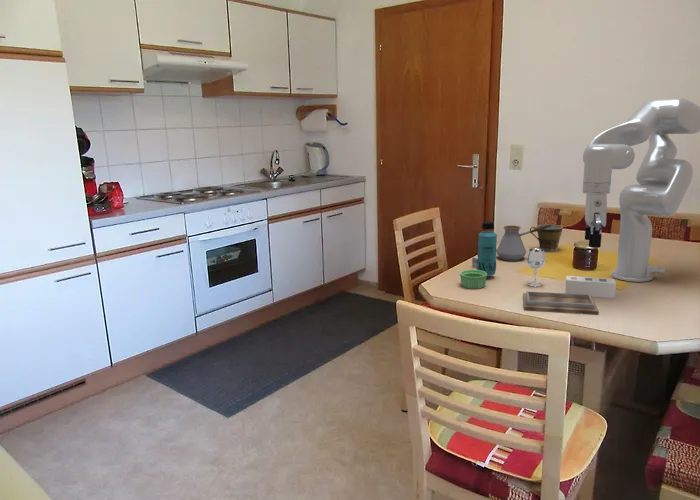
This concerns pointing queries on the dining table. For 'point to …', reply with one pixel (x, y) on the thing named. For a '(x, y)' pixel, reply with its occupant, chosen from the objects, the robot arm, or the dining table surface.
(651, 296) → the dining table surface
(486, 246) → the beverage bottle
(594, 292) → the power strip
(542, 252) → the wineglass
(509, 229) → the coffee pot
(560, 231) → the ceramic cup
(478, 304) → the dining table surface
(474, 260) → the usb wall charger
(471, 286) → the ramekin
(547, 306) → the board
